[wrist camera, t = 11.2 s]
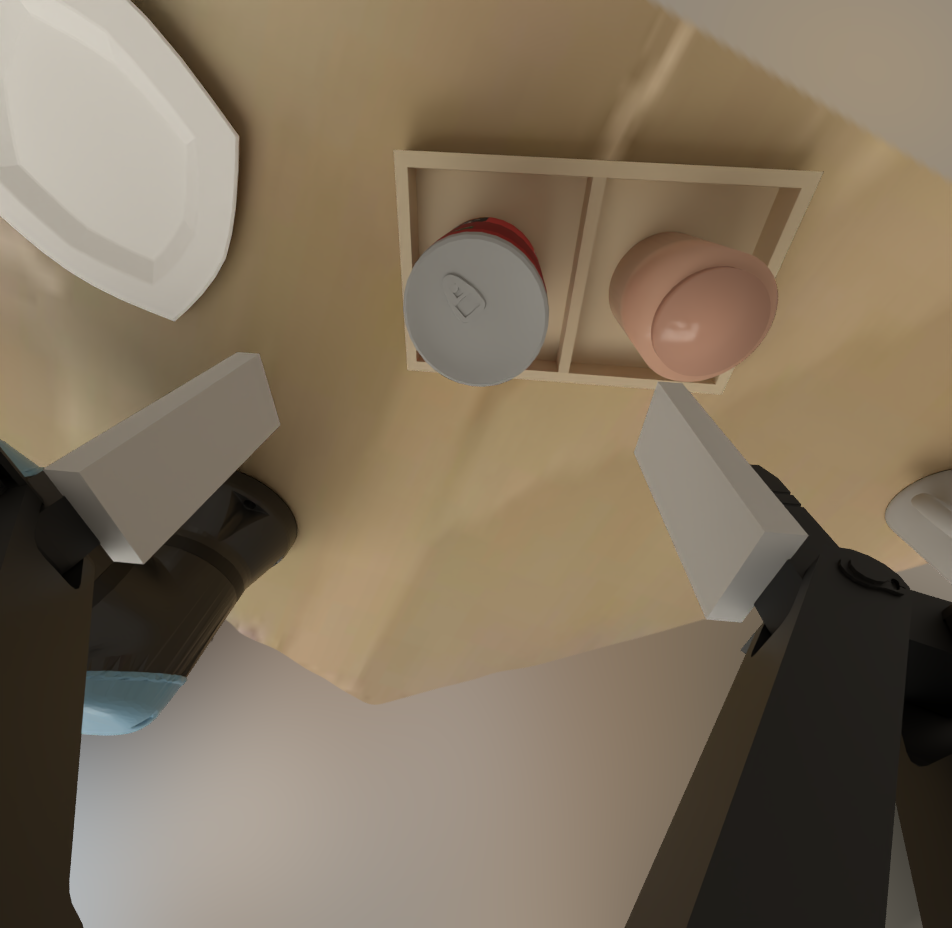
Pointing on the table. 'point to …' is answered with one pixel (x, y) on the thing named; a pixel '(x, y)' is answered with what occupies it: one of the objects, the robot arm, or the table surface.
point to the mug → (926, 519)
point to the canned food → (478, 303)
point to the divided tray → (594, 237)
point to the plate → (113, 152)
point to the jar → (692, 304)
